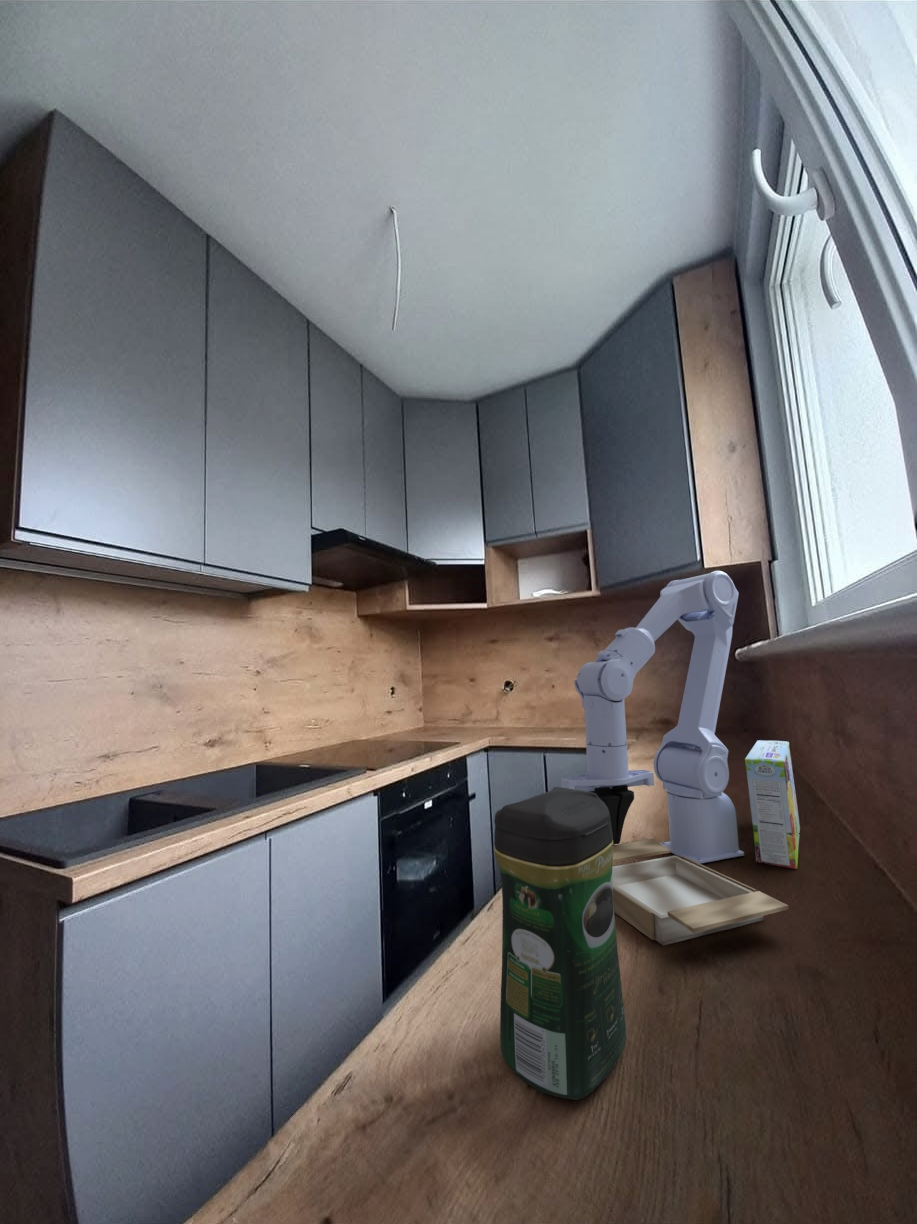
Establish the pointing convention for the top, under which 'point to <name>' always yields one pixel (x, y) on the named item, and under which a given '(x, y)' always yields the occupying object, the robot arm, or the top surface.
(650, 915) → the carton
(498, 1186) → the top surface
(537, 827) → the coffee jar
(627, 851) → the flap
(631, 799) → the robot arm
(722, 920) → the flap
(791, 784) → the snack box
